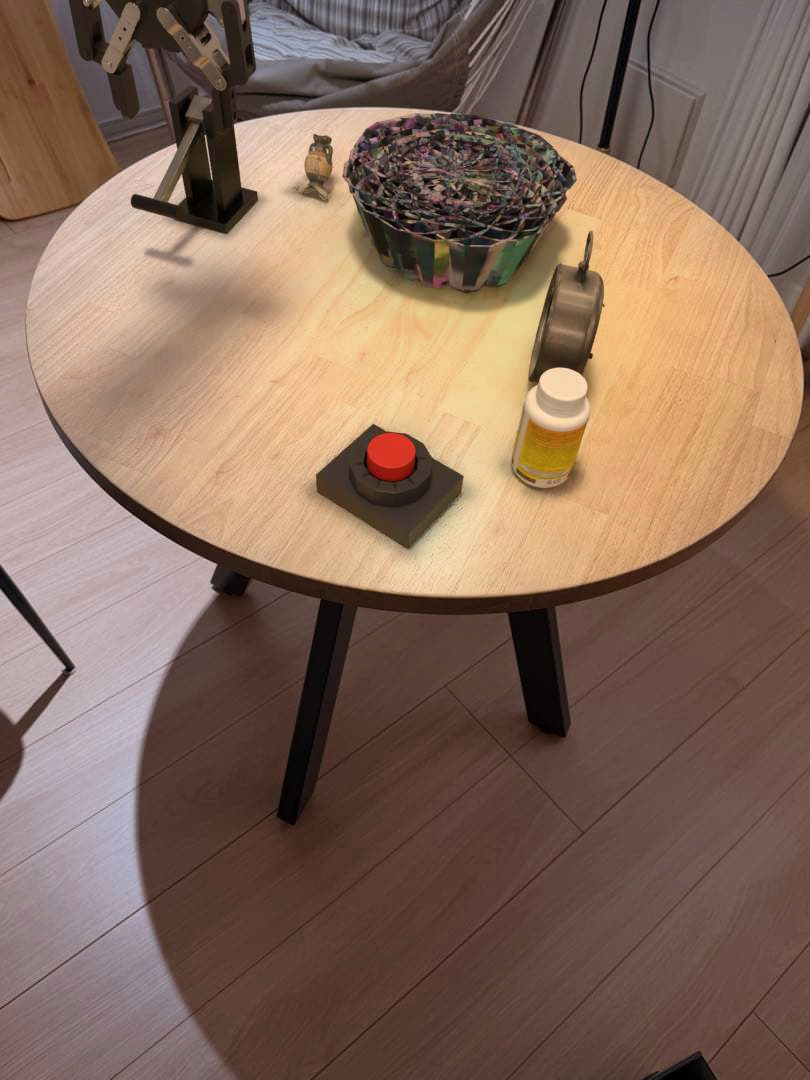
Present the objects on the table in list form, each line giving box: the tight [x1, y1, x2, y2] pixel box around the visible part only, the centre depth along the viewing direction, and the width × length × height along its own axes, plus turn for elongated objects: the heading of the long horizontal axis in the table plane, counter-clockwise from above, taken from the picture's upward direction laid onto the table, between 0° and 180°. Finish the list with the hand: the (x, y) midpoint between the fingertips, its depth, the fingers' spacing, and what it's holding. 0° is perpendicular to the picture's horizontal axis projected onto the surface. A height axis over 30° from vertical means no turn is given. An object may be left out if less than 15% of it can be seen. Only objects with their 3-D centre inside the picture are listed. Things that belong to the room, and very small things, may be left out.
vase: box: [290, 133, 334, 201], centre depth 96 cm, size 5×5×6 cm
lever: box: [130, 95, 212, 221], centre depth 85 cm, size 14×6×2 cm, turn 159°
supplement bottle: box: [511, 368, 591, 489], centre depth 68 cm, size 6×6×10 cm
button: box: [367, 433, 416, 482], centre depth 66 cm, size 4×4×2 cm
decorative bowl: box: [341, 112, 578, 294], centre depth 90 cm, size 26×28×10 cm
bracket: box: [168, 85, 259, 235], centre depth 89 cm, size 8×7×13 cm
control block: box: [315, 423, 465, 549], centre depth 68 cm, size 10×8×4 cm
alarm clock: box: [527, 230, 606, 384], centre depth 73 cm, size 11×5×16 cm, turn 168°
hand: (178, 122), depth 68 cm, fingers open, 8 cm apart
